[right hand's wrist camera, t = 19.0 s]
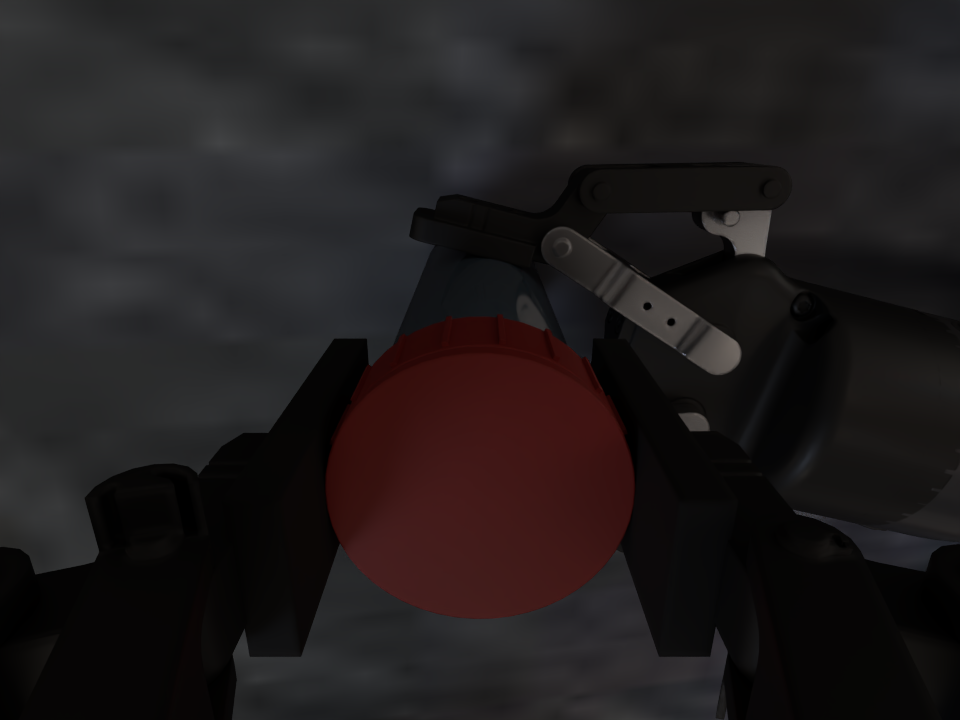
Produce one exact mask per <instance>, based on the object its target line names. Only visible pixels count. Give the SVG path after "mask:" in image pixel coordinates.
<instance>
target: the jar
mask: <svg viewBox="0 0 960 720" xmlns="http://www.w3.org/2000/svg"><path fill="white" fill-rule="evenodd" d="M497 314H502V315H503V318H505V319H510V320H514V321H518V322H522V323H525V324H528V325H531V326H533V327H536V328H538V329H541V330H543V331H544V330H545V329H546V328H547V329H549V330H551V333H552V335H553V336H554V337H556V338H557V339H559V340H560V341H561V342H563V343H564V344H566V345H567V343H566V341H565V338H564V336H563V333H562V331H561V328H560V326H559V323H558V321H557V319H556V316H555V314H554V311H553V309H552V306H551V304H550V301H549V299H548V296H547V294H546V291H545V289H544V287H543V284H542V282H541V279H540V277H539V274H538V272H537V269H536V267H535V264H534V262H533V261H532V263H531V267H530V269H529V268H525V267H521V266H517V265H513V264H509V263H505V262H502V261H499V260H493V259H489V258H485V257H481V256H477V255H473V254H469V253H465V252H461V251H456V250H452V249H448V248H444V247H440V246H436V245H435V247H434V248H433V250H432V251H431V253H430V255H429V258H428V260H427V262H426V265H425V267H424V270H423V272H422V275H421V277H420V280H419V282H418V285H417V287H416V290H415V292H414V295H413V297H412V299H411V302H410V304H409V307H408V309H407V312H406V314H405V317H404V319H403V322H402V324H401V327H400V329H399V332H398V334H397V337H396V339H395V341H394V344H393V345H395V344H396V343H397V342H398V340H399V337H400V336H401V335H402V334H405V335H406V336H408V335H410V334H412V333H413V332H415V331H417V330H420V329H422V328H425V327H427V326H429V325H432V324H435V323H439V322H442V321H445V320H446V317H447V316H452V319H457V318H463V317H496V318H497Z"/></svg>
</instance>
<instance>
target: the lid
mask: <svg viewBox="0 0 960 720" xmlns="http://www.w3.org/2000/svg"><path fill="white" fill-rule="evenodd" d="M350 400H351V401H352V403H351V405H349V404H348V405H347V407H346V409H345V411H344V413H343V415H342V417H341V419H340V421H339V423H338V425H337V427H336V429H335V431H334V433H333V436H332V438H331V440H330V445H332V447H331V450H330V453H329V456H328V461H327V467H326V472H325V496H326V504H327V510H328V513H329V517H330V520H331V524H332V527H333V529H334V531H335V533H336V536H337V538H338V540H339V542H340V544H341V545H342V547H343V548H344V550H345V552H346V553H347V555H348V556H349V558H350V559H351V560H352V561H353V562H354V564H355V565H356V566H357V567H358V568H359V570H360V571H362V572H363V573H364V574H365V575H366V576H367V577H368V578H369V579H370V580H371V581H372V582H374V583H375V584H376V585H378V586H379V587H380V588H382V589H383V590H385V591H386V592H387V593H389V594H391V595H393V596H395V597H396V598H398V599H400V600H402V601H404V602H406V603H408V604H411V605H413V606H415V607H418V608H420V609H424V610H427V611H430V612H433V613H437V614H442V615H447V616H452V617H460V618H471V619H487V618H500V617H509V616H514V615H518V614H523V613H527V612H531V611H534V610H537V609H539V608H542V607H545V606H548V605H550V604H552V603H554V602H556V601H558V600H561V599H563V598H564V597H566V596H568V595H569V594H571V593H573V592H574V591H576V590H577V589H579V588H580V587H581V586H583V585H584V584H585V583H586V582H588V581H589V580H590V579H592V578H593V577H594V576H595V575H596V574H597V573H598V572H599V571H600V570H601V569H602V568H603V567H604V565H605V564H606V563H607V562H608V560H609V559H610V558H611V556H612V555H613V554H614V553H615V551H616V549H617V547H618V546H619V544H620V542H621V540H622V539H623V537H624V534H625V532H626V529H627V527H628V524H629V522H630V519H631V514H632V510H633V506H634V498H635V487H636V484H635V469H634V464H633V460H632V456H631V451H630V449H629V446H628V444H627V441H626V438H625V436H624V435H627V434H628V432H627V430H626V428H625V426H624V423H623V421H622V419H621V417H620V415H619V413H618V411H617V409H616V407H615V405H614V403H613V401H612V399H611V397H610V395H607V396H605V393H604V391H603V389H602V387H601V385H600V384H599V382H598V380H597V377H596V375H595V373H594V371H593V369H592V367H591V365H590V363H589V360H588V359H587V358H586V357H584V358H582V359H581V358H580V357H579V356H578V355H577V354H576V353H575V352H574V351H573V350H572V349H571V348H570V347H568V346H567V345H566V344H564V343H563V342H561V341H560V340H559V339H557V338H556V337H554V336H553V335H552V333H551V330H549V329H547V328H546V329H545V330H544V331H543V330H541V329H538V328H536V327H533V326H531V325H528V324H525V323H522V322H518V321H514V320H510V319H505V318H503V315H502V314H497V318H496V317H463V318H457V319H452V316H447V317H446V320H445V321H442V322H439V323H435V324H432V325H429V326H427V327H425V328H422V329H420V330H417V331H415V332H413V333H412V334H410V335H408V336H406V335H405V334H402V335H401V336H400V337H399V340H398V342H397V343H396V344H395V345H393V346H392V347H391V348H390V349H388V350H387V351H386V352H385V353H384V354H383V355H382V356H381V357H380V358H379V359H378V360H377V361H376V362H375V363H374V364H373V366H372V367H371V366H370V365H367V367H366V368H365V370H364V372H363V374H362V376H361V378H360V380H359V383H358V385H357V387H356V389H355V391H354V393H353V395H352V397H351V399H350Z"/></svg>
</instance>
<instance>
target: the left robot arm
mask: <svg viewBox="0 0 960 720" xmlns="http://www.w3.org/2000/svg"><path fill="white" fill-rule="evenodd" d="M791 189H792V180H791V177H790V175H789V173H788V172H787V171H786V170H785V169H783V168H781V167H777V166H769V165H762V164H754V163H744V162H712V163H657V164H601V165H583V166H580V167H578V168H577V169H575V170H574V171H573V173H572V174H571V176H570V178H569V181H568V186H567V187H566V189H565V190H564V191H563V193H562V194H561V196H560V197H559V199H558V200H557V201H556V203H555V204H554V205H553V206H552V207H551V208H549V209H548V210H546V211H544V212H541V213H529V212H525V211H521V210H517V209H514V208H510V207H506V206H502V205H498V204H494V203H490V202H486V201H482V200H478V199H474V198H471V197H467V196H463V195H459V194H454V195H447V196H440V198H439V199H438V201H437V205H436V210H433V209H428V208H418V209H417V210H416V211H415V212H414V215H413V220H412V225H411V230H410V235H409V236H410V237H411V238H412V239H415V240H417V241H421V242H424V243H428V244H432V245H436V246H440V247H444V248H448V249H452V250H456V251H461V252H465V253H469V254H473V255H477V256H481V257H485V258H489V259H493V260H499V261H502V262H505V263H509V264H513V265H517V266H521V267H525V268H529V269H530V267H531V263H532V261H536V262H540V263H544V264H548V265H551V266H552V267H554V268H555V269H557V270H558V271H560V272H561V273H563V274H564V275H566V276H568V277H569V278H571V279H572V280H574V281H575V282H577V283H578V284H580V285H581V286H583V287H584V288H586V289H587V290H589V291H590V292H592V293H593V294H595V295H596V296H597V297H598V298H600V299H601V300H602V301H603V302H604V303H606V304H607V305H608V306H610V308H609V311H608V314H607V317H606V320H605V335H604V339H626V340H627V341H628V343H629V344H630V346H631V347H632V348H633V350H634V351H635V353H636V354H637V356H638V357H639V358H640V360H641V361H642V363H643V364H644V366H645V367H646V368H647V370H648V371H649V373H650V374H651V376H652V377H653V378H654V380H655V381H656V383H657V384H658V386H659V387H660V388H661V390H662V391H663V393H664V394H665V396H666V397H667V398H668V400H669V401H670V403H671V404H672V406H673V407H674V409H675V410H676V411H677V413H678V414H679V416H680V417H681V419H682V420H683V421H684V423H685V424H686V426H687V427H688V429H689V430H690V431H717V432H719V433H721V434H722V435H724V436H726V437H727V438H729V439H731V440H732V441H734V442H736V443H737V444H739V445H740V447H741V448H742V449H743V450H744V451H745V453H746V454H747V455H748V456H749V458H750V459H751V460H752V461H751V462H752V463H754V464H755V465H756V466H757V467H758V468H759V470H760V471H761V472H762V476H765V477H766V478H767V479H768V481H769V482H770V483H771V484H772V485H773V487H774V488H775V489H776V490H777V492H778V493H779V494H780V495H781V496H782V498H783V499H784V500H785V501H786V502H787V504H788V505H789V506H790V507H791V509H793V510H798V511H802V512H807V513H811V514H816V515H820V516H825V517H829V518H834V519H839V520H843V521H848V522H852V523H857V524H859V525H861V526H864V527H867V528H870V529H874V530H883V531H886V530H889V531H894V532H898V533H903V534H907V535H912V536H916V537H921V538H927V539H933V540H941V541H951V542H960V321H956V320H952V319H948V318H944V317H940V316H936V315H932V314H928V313H925V312H921V311H918V310H914V309H910V308H906V307H902V306H898V305H894V304H890V303H886V302H882V301H878V300H874V299H870V298H867V297H863V296H859V295H855V294H851V293H847V292H843V291H839V290H835V289H831V288H827V287H823V286H819V285H816V284H812V283H808V282H804V281H800V280H796V279H792V278H789V277H787V276H786V275H785V274H784V273H783V272H782V271H781V270H780V269H779V268H778V267H777V265H776V264H775V263H773V262H772V261H771V260H769V259H768V258H766V257H764V256H765V250H766V243H767V237H768V230H769V224H770V217H771V211H772V210H773V209H776V208H778V207H780V206H781V205H782V204H783V203H784V202H785V201H786V200H787V199H788V197H789V195H790V193H791ZM655 212H692V218H693V221H694V223H695V224H696V225H697V226H698V227H699V228H701V229H703V230H705V231H707V232H709V233H712V234H714V235H719V236H720V237H721V239H722V240H723V243H724V250H723V251H720V252H717V253H715V254H712V255H709V256H707V257H704V258H701V259H699V260H696V261H694V262H691V263H688V264H686V265H683V266H681V267H678V268H675V269H673V270H670V271H667V272H665V273H662V274H660V275H657V276H654V277H652V278H651V277H649V276H648V275H646V274H645V273H643V272H642V271H641V270H639V269H638V268H636V267H635V266H633V265H632V264H630V263H629V262H627V261H626V260H624V259H623V258H621V257H620V256H618V255H617V254H615V253H614V252H613V251H611V250H609V249H608V248H606V247H604V246H603V245H601V244H600V243H598V242H597V241H595V240H594V239H592V238H591V237H590V236H591V234H592V233H593V232H594V230H595V229H596V228H597V226H598V225H599V223H600V222H601V221H602V219H603V218H604V217H605V215H606V214H607V213H655ZM590 365H592V362H591V364H590ZM616 550H618V551H621V552H623V549H622V546H621V543H620V544H619V546H618V547H617V549H616Z"/></svg>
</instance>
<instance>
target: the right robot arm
mask: <svg viewBox="0 0 960 720" xmlns="http://www.w3.org/2000/svg"><path fill="white" fill-rule="evenodd" d="M367 365H369V363H368V349H367V339H334V340H333V341H332V343H331V344H330V346H329V347H328V349H327V350H326V351H325V353H324V354H323V356H322V357H321V359H320V360H319V362H318V363H317V364H316V366H315V367H314V369H313V370H312V372H311V373H310V374H309V376H308V377H307V379H306V380H305V382H304V383H303V384H302V386H301V387H300V389H299V390H298V392H297V393H296V394H295V396H294V397H293V399H292V400H291V402H290V403H289V404H288V406H287V407H286V409H285V410H284V412H283V413H282V414H281V416H280V417H279V419H278V420H277V422H276V423H275V424H274V426H273V427H272V429H271V430H270V432H269V433H243V434H241V435H240V436H238V437H236V438H235V439H233V440H231V441H230V442H228V443H227V444H225V445H223V446H222V447H221V448H220V449H219V450H218V452H217V453H216V454H215V455H214V457H213V458H212V459H211V460H210V461H209V465H206V466H205V468H204V469H203V470H202V471H201V473H200V474H199V475H197V473H196V472H195V471H194V470H192V469H191V468H189V467H188V466H183V465H178V464H153V465H148V466H144V467H139V468H134V469H131V470H128V471H126V472H123V473H120V474H118V475H115V476H112V477H111V478H109V479H107V480H106V481H104V482H102V483H101V484H99V485H97V486H96V487H94V489H93V490H92V491H91V492H90V493H89V494H88V495H87V496H86V497H85V501H86V505H87V509H88V512H89V516H90V519H91V523H92V527H93V530H94V534H95V537H96V541H97V545H98V548H99V554H98V556H97V558H96V560H95V562H93V563H89V564H85V565H81V566H76V567H71V568H66V569H61V570H56V571H51V572H46V573H41V574H36V575H35V572H34V569H33V566H32V563H31V560H30V557H29V556H28V555H27V554H26V553H24V552H23V551H22V550H20V549H15V548H7V547H0V720H232V714H233V706H234V697H235V689H236V681H237V678H236V671H235V665H234V660H233V655H232V654H233V652H234V649H235V647H236V645H237V643H238V641H239V639H240V637H241V635H242V633H243V630H244V628H245V632H246V638H247V643H248V649H249V654H250V657H301V655H302V652H303V649H304V646H305V644H306V641H307V638H308V635H309V632H310V629H311V626H312V623H313V620H314V617H315V614H316V611H317V608H318V605H319V602H320V599H321V596H322V594H323V591H324V588H325V585H326V582H327V579H328V576H329V573H330V570H331V567H332V564H333V561H334V558H335V555H336V552H337V549H338V546H339V544H340V542H339V540H338V538H337V536H336V533H335V531H334V529H333V527H332V524H331V520H330V517H329V513H328V510H327V504H326V496H325V472H326V467H327V461H328V456H329V453H330V450H331V447H332V445H330V440H331V438H332V436H333V433H334V431H335V429H336V427H337V425H338V423H339V421H340V419H341V417H342V415H343V413H344V411H345V409H346V407H347V405H348V404H349V405H351V403H352V401H351V400H350V399H351V397H352V395H353V393H354V391H355V389H356V387H357V385H358V383H359V380H360V378H361V376H362V374H363V372H364V370H365V368H366V367H367ZM591 367H592V369H593V371H594V373H595V375H596V377H597V380H598V382H599V384H600V385H601V387H602V389H603V391H604V393H605V396H607V395H610V397H611V399H612V401H613V403H614V405H615V407H616V409H617V411H618V413H619V415H620V417H621V419H622V421H623V423H624V426H625V428H626V430H627V432H628V434H627V435H624V436H625V438H626V441H627V444H628V446H629V449H630V451H631V456H632V460H633V464H634V469H635V484H636V487H635V498H634V506H633V510H632V514H631V519H630V522H629V524H628V527H627V529H626V532H625V534H624V537H623V539H622V540H621V542H620V543H621V546H622V549H623V552H624V555H625V558H626V561H627V564H628V567H629V570H630V573H631V576H632V578H633V581H634V584H635V587H636V590H637V593H638V596H639V599H640V602H641V605H642V608H643V611H644V614H645V617H646V620H647V623H648V626H649V628H650V631H651V634H652V637H653V640H654V643H655V646H656V649H657V652H658V655H659V657H710V655H711V649H712V644H713V638H714V633H715V627H717V629H718V631H719V633H720V636H721V638H722V640H723V642H724V644H725V646H726V648H727V650H728V655H727V660H726V665H725V670H724V675H723V680H722V685H721V690H720V696H719V701H718V706H717V713H716V718H718V719H723V720H724V717H725V712H726V707H727V712H728V720H960V544H956V545H948V546H941V547H940V548H938V549H937V550H936V551H934V552H933V553H932V555H931V558H930V561H929V564H928V567H927V570H926V572H923V571H918V570H913V569H908V568H903V567H898V566H893V565H888V564H883V563H878V562H874V561H870V560H866V559H864V557H863V555H862V553H861V551H860V550H859V548H858V547H857V546H856V545H855V543H854V542H853V541H852V540H851V538H849V537H848V536H846V535H845V534H843V533H842V532H841V531H839V530H838V529H836V528H835V527H833V526H830V525H828V524H826V523H824V522H821V521H819V520H817V519H814V518H810V517H806V516H801V515H797V514H796V513H795V512H794V511H793V510H792V509H791V507H790V506H789V505H788V504H787V502H786V501H785V500H784V499H783V498H782V496H781V495H780V494H779V493H778V492H777V490H776V489H775V488H774V487H773V485H772V484H771V483H770V482H769V481H768V479H767V478H766V477H765V476H762V472H761V471H760V470H759V468H758V467H757V466H756V465H755V464H754V463H752V462H751V461H752V460H751V459H750V458H749V456H748V455H747V454H746V453H745V451H744V450H743V449H742V448H741V447H740V445H739V444H737V443H736V442H734V441H732V440H731V439H729V438H727V437H726V436H724V435H722V434H721V433H719V432H717V431H690V430H689V429H688V427H687V426H686V424H685V423H684V421H683V420H682V419H681V417H680V416H679V414H678V413H677V411H676V410H675V409H674V407H673V406H672V404H671V403H670V401H669V400H668V398H667V397H666V396H665V394H664V393H663V391H662V390H661V388H660V387H659V386H658V384H657V383H656V381H655V380H654V378H653V377H652V376H651V374H650V373H649V371H648V370H647V368H646V367H645V366H644V364H643V363H642V361H641V360H640V358H639V357H638V356H637V354H636V353H635V351H634V350H633V348H632V347H631V346H630V344H629V343H628V341H627V340H626V339H593V351H592V365H591Z"/></svg>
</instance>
